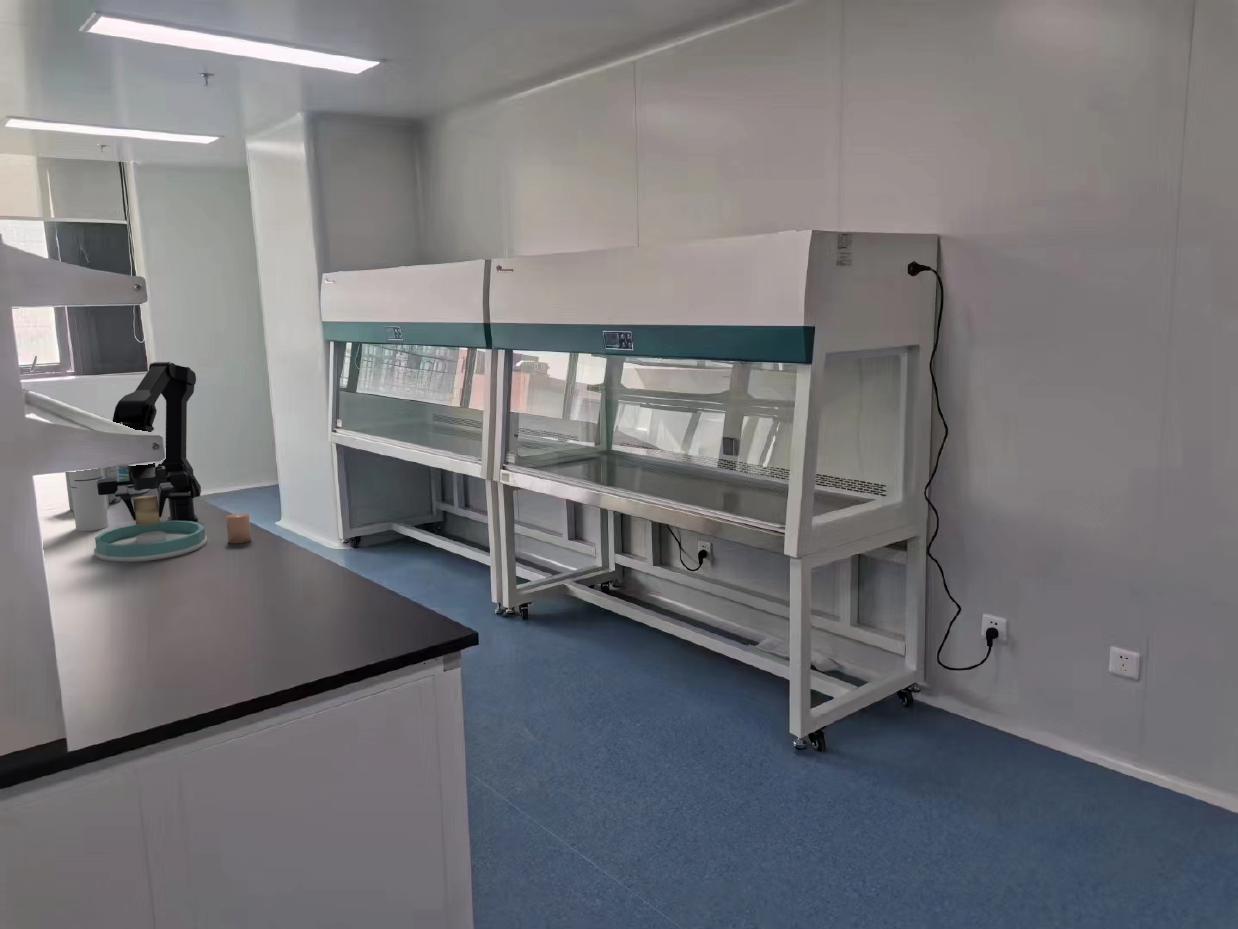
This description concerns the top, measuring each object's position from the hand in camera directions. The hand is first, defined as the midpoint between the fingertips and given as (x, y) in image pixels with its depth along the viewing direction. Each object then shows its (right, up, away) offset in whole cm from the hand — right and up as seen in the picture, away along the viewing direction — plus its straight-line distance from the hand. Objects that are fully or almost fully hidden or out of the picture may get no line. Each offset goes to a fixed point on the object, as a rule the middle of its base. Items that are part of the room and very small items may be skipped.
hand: (147, 518), depth 212 cm
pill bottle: (-32, +4, +54) cm, 63 cm away
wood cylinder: (0, -1, 0) cm, 1 cm away
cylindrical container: (-21, -3, +14) cm, 26 cm away
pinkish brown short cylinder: (+21, -5, +1) cm, 22 cm away
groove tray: (+3, -6, -4) cm, 9 cm away
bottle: (-33, +2, +42) cm, 53 cm away
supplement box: (-33, 0, +33) cm, 47 cm away
